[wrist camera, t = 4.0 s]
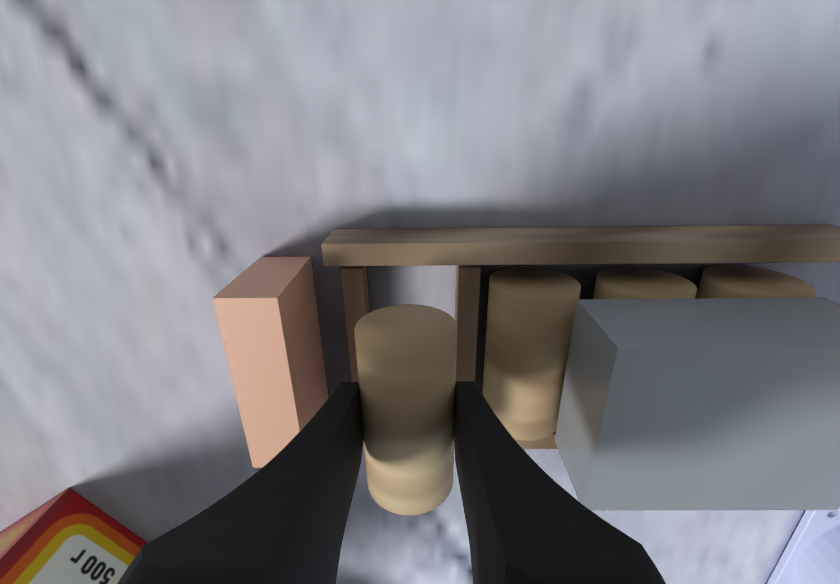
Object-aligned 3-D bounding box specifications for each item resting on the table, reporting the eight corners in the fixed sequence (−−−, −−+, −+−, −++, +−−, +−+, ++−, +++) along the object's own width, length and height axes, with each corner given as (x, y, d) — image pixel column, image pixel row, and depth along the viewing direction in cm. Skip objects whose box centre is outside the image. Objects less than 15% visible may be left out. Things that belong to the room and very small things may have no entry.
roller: (358, 306, 13) (349, 355, 10) (450, 302, 13) (464, 351, 10) (370, 447, 15) (364, 518, 13) (447, 443, 16) (458, 512, 13)
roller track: (830, 224, 15) (927, 250, 12) (753, 415, 19) (813, 470, 16) (333, 229, 15) (312, 255, 13) (352, 417, 19) (339, 471, 16)
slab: (824, 297, 13) (932, 345, 10) (763, 439, 15) (837, 510, 13) (576, 299, 13) (617, 347, 10) (554, 440, 15) (582, 510, 13)
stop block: (310, 256, 16) (277, 297, 12) (328, 399, 19) (305, 467, 15) (261, 256, 16) (212, 298, 12) (286, 399, 19) (252, 467, 15)
